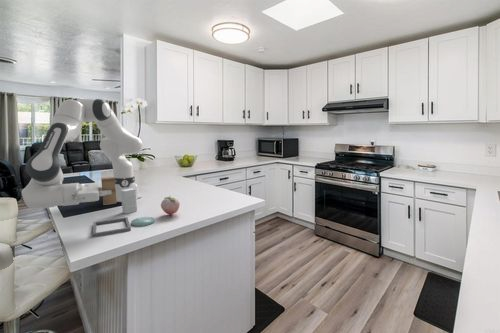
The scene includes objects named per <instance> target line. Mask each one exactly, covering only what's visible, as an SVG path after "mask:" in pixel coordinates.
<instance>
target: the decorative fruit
mask: <svg viewBox="0 0 500 333" xmlns="http://www.w3.org/2000/svg"><path fill="white" fill-rule="evenodd" d="M180 204H181V203H180V201H179V200H178V199H177V198H175V197H171V196H167V197H164V199H163V200H162V201H161V203H160V208H161V209H162V211H163V212H164V213H165V214H167V215H169V216H173V215H174V214H176V213H177V212H178V211H179V209H180V207H181V206H180Z"/></svg>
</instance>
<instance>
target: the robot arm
mask: <svg viewBox="0 0 500 333" xmlns="http://www.w3.org/2000/svg"><path fill="white" fill-rule="evenodd" d="M93 122H94V124H95V125H96V126H97V128H98V129H99V131H100V132H101V134H102V135H103V136H104V137H103V138H102V139H101V140H100V143H99V148H100V150H101V152H102V153H103V154H105V155H106V156H107V157H108V158H109V160H110V163H111V165H112V170H113V172H112V173H113V177H114V178H115V189H116V203H122V199H121V190H125V189H130V188H133V189H135V190H136V200H137V199H141V198H143V197H142V195H141V194H140V193H139V187H138V186H139V185H138V184H137V183H136V182H135V181H136V179H135V178H136V177H135V175H134V165H133V163H132V162H131V161H130V160H129V159H127V158H126V156H125V155H128V156H129V155H136V154H137V155H138V154H140V153H142V151H143V149H144V143H143V141H142V139H141V138H140V137H138V136H135V135H133V134H132V133H131V132H129V131H128V130H127V129H125V127H124V126H123V125H122V124H121V122H120V121H119V118H118V117H117V115H116V113H115V112H114V110H113V109H112V108H111V105H110V104H109V103H108V102H107V101H106V100H104V99H100V98H95V99H93V98H84V99H77V100H75V99H69V98H68V99H66V100H63V101H62V102H61V103H60V104H59V106H58V108H57V109H56V111H55V114H54V115H53V118H52V120H51V123H50V126H49V129H48V130H47V133H46V135H45V136H44V139H43V140H42V143H41V144H40V146H39V149H38V150H37V151H36V152H35V153H34V154H33V155H32V156H31V157H29V159H28V160H27V161H26V162H25V168H24V169H25V172H26V174H27V176H28V177H30V178H31V179H30V181H29V183H28V184H27V185H26V186H25V187H24V188H23V189H21V193H20V194H21V195H20V197H21V199H22V202H23V204H24V205H25V207H27V208H29V209H49V208H55V207H58V206H61V207H66V206H75V205H79V204H80V203H89V202H90V203H91V202H97V201H99V200H100V197H103V196H104V195H109V194H112V192H111V190H104V191H102V186H100V184H99V183H96V182H95V183H93V182H92V183H88V182H87V183H79V182H74V183H73V182H72V183H71V182H70V183H63V181H64V173H63V170H62V168H61V166H60V162H59V155H60V153H61V151H62V148H63V146H64V143H65V142H68V141H69V142H70V141H74V140H76V139H77V138H78V136H79V135H80V133H81V131H82V128H83V125H84V123H93Z"/></svg>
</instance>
